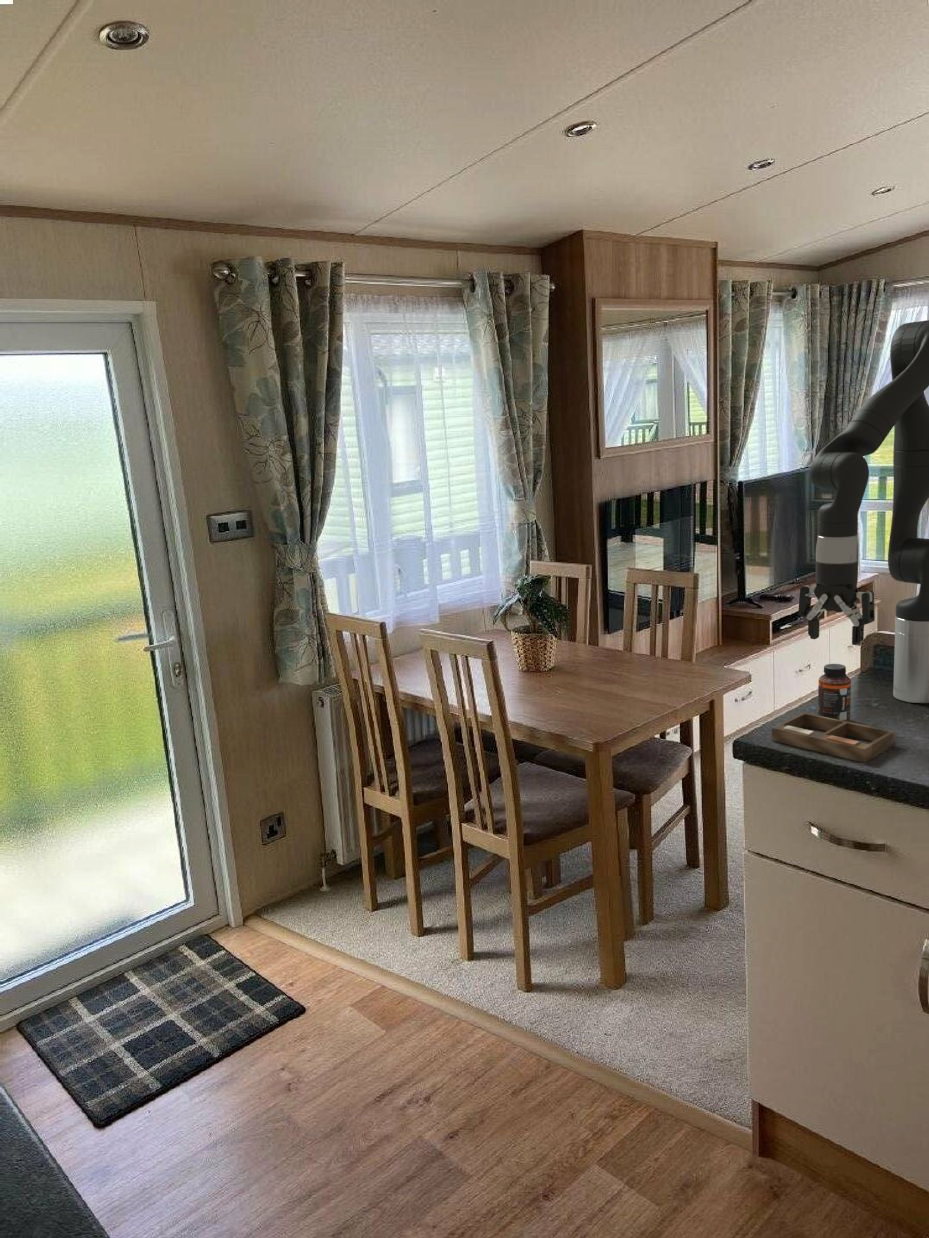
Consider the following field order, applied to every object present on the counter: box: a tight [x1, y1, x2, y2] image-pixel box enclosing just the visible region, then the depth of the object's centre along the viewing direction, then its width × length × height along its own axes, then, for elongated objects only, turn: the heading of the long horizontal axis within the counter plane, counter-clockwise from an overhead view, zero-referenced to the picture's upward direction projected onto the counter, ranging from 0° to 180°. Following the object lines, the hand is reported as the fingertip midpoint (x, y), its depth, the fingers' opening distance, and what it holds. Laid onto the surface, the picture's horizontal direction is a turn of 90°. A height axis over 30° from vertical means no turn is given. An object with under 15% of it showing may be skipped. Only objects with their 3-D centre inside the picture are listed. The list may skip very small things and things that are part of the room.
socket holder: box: [771, 712, 896, 764], centre depth 176 cm, size 18×11×3 cm, turn 41°
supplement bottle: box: [817, 663, 852, 722], centre depth 186 cm, size 6×6×11 cm
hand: (835, 641), depth 183 cm, fingers open, 8 cm apart
